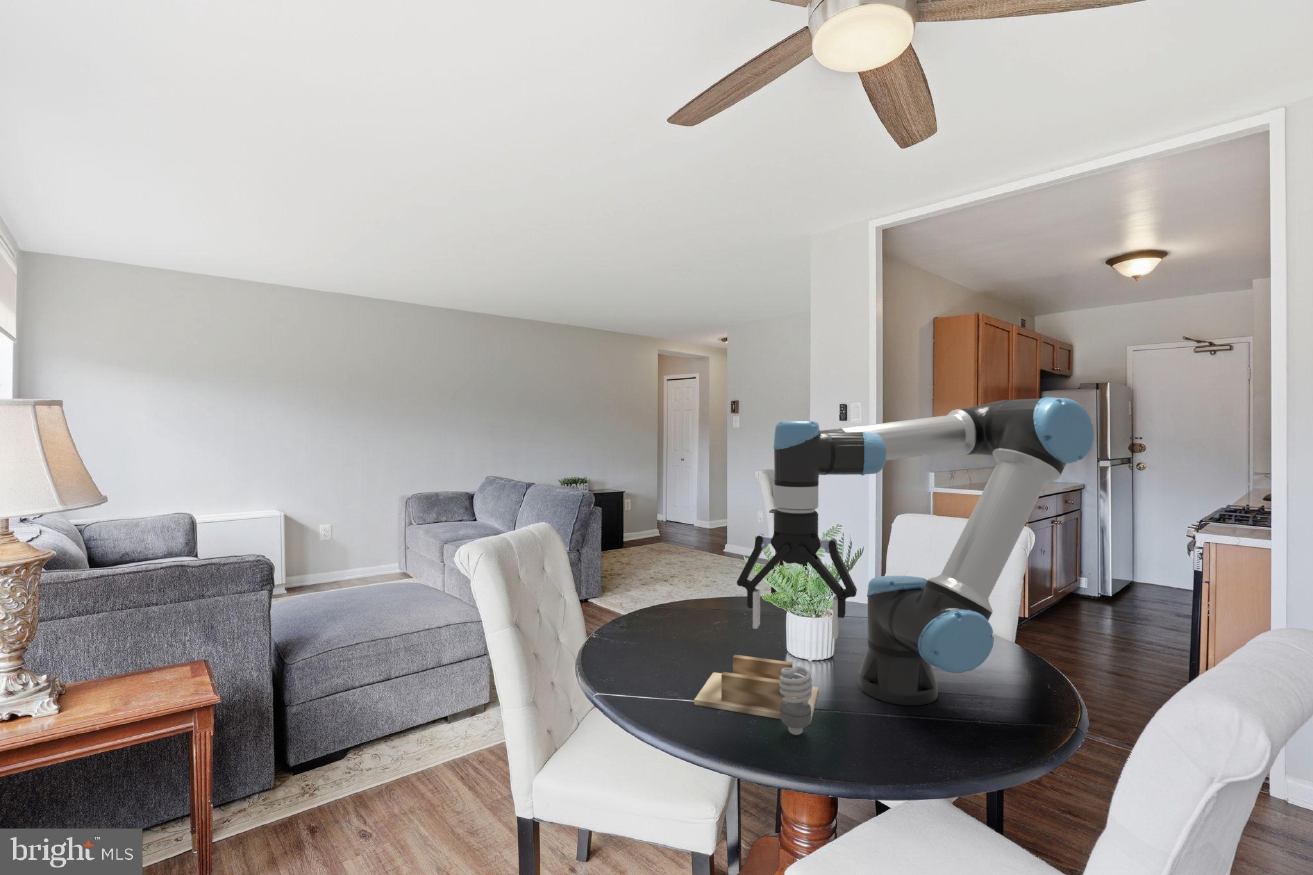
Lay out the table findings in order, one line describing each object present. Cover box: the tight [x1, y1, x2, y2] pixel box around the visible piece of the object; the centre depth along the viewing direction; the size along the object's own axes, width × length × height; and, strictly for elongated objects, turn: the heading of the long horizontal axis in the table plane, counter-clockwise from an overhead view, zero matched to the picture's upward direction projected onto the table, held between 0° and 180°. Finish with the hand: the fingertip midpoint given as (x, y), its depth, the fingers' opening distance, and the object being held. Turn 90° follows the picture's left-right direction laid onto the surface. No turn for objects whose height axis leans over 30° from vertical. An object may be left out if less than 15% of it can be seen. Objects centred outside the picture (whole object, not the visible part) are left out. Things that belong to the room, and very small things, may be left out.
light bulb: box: [779, 665, 813, 736], centre depth 108 cm, size 6×6×12 cm
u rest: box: [693, 654, 819, 725], centre depth 122 cm, size 22×14×6 cm, turn 70°
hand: (795, 631), depth 107 cm, fingers open, 13 cm apart
